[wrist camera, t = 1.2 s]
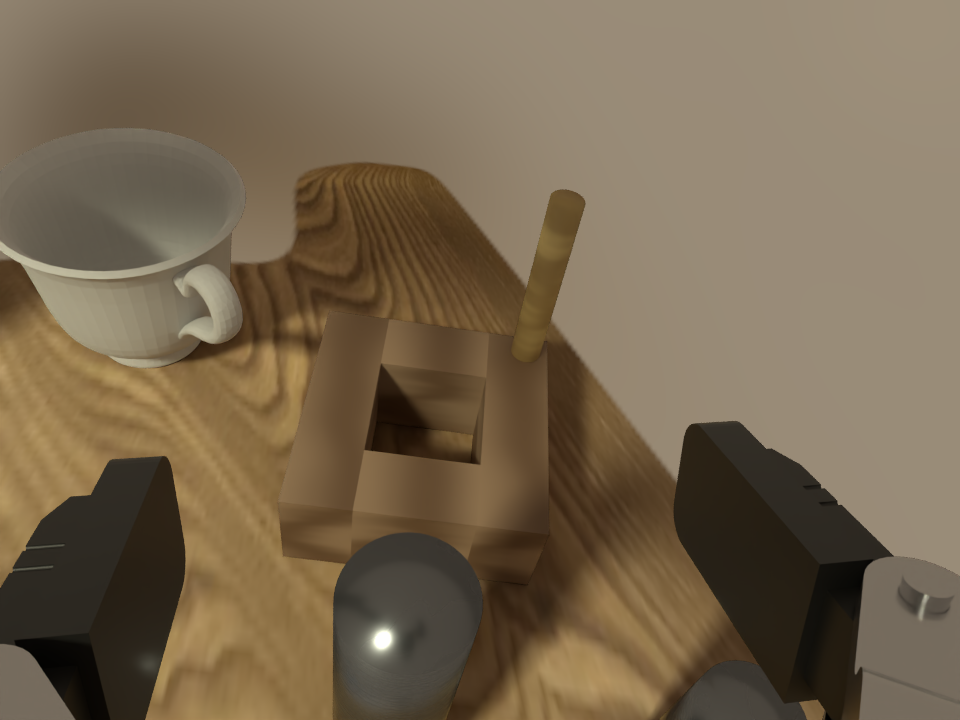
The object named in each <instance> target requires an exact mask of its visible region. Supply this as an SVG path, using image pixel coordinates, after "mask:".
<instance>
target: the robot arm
mask: <svg viewBox="0 0 960 720" xmlns="http://www.w3.org/2000/svg"><path fill="white" fill-rule="evenodd" d="M674 522H675V527H676V531H677V534H678V537H679V539H680V542H681V543H682V545H683V547H684V548H685V550H686V551H687V553H688V555H689V556H690V558H691V559H692V561H693V562H694V564H695V565H696V567H697V569H698V570H699V572H700V573H701V575H702V576H703V578H704V579H705V581H706V583H707V584H708V586H709V587H710V589H711V590H712V592H713V594H714V595H715V597H716V598H717V600H718V601H719V603H720V604H721V606H722V608H723V609H724V611H725V612H726V614H727V615H728V617H729V619H730V620H731V622H732V623H733V625H734V626H735V628H736V629H737V631H738V633H739V634H740V636H741V637H742V639H743V640H744V642H745V644H746V645H747V647H748V648H749V650H750V651H751V653H752V654H753V656H754V658H755V659H756V661H757V662H758V664H759V665H760V667H761V668H762V670H763V672H764V673H765V675H766V676H767V678H768V679H769V681H770V683H771V684H772V686H773V687H774V689H775V690H776V692H777V693H778V695H779V697H780V698H781V700H782V701H783V703H784V704H786V703H794V702H802V701H810V700H817V699H818V700H819V702H820V703H821V705H822V706H823V708H824V709H825V711H824V715H823V718H822V720H960V576H958V575H957V574H955V573H953V572H951V571H949V570H947V569H945V568H943V567H940V566H938V565H936V564H933V563H929V562H927V561H923V560H919V559H915V558H907V557H894V556H893V555H892V554H891V553H890V552H889V551H888V550H887V549H886V548H885V547H884V546H883V545H882V544H881V543H880V542H879V541H878V540H877V539H876V538H875V537H874V536H873V535H872V534H871V533H870V532H869V531H868V530H867V529H866V528H864V526H862V524H860V522H858V521H857V520H856V519H855V518H854V517H853V516H852V515H851V514H850V513H849V512H848V511H847V510H846V509H845V508H844V507H843V506H842V505H838V504H837V500H836V499H835V498H834V497H833V496H832V495H831V494H830V493H829V492H828V491H827V490H826V489H821V484H820V483H819V482H818V481H817V480H816V479H815V478H813V476H812V475H810V473H809V472H808V471H807V470H806V469H804V468H803V467H802V466H801V465H800V464H798V463H797V462H795V461H793V460H791V459H789V458H787V457H786V456H783V455H782V454H780V453H778V452H777V451H775V450H773V449H766V448H765V447H764V446H763V445H762V444H761V443H760V442H759V441H758V440H757V439H756V438H755V437H754V436H753V435H752V434H751V433H750V432H749V431H748V430H747V429H746V428H745V427H744V426H743V425H742V424H741V423H740V422H737V421H728V422H712V423H696V424H691V425H690V426H689V427H688V428H687V430H686V433H685V436H684V441H683V448H682V454H681V461H680V467H679V474H678V480H677V487H676V494H675V500H674ZM184 575H185V545H184V538H183V532H182V526H181V520H180V515H179V509H178V503H177V497H176V491H175V485H174V479H173V474H172V468H171V465H170V462H169V460H168V458H167V457H166V456H159V457H143V458H127V459H112V460H110V461H109V462H108V464H107V465H106V467H105V469H104V471H103V473H102V475H101V477H100V478H99V480H98V482H97V484H96V486H95V488H94V490H93V492H92V494H91V495H88V496H73V497H70V498H68V499H67V500H66V501H65V502H63V503H62V504H61V505H60V506H58V507H57V508H56V509H55V510H53V511H52V512H51V513H50V514H48V515H47V516H46V517H45V518H43V519H42V520H41V521H40V523H39V525H38V526H37V528H36V530H35V531H34V533H33V535H32V536H31V538H30V540H29V541H28V543H27V545H26V551H22V553H21V555H20V556H19V558H18V560H17V561H16V563H15V565H14V566H13V573H9V575H8V576H7V578H6V580H5V581H4V583H3V585H2V586H1V588H0V720H145V718H146V714H147V711H148V707H149V704H150V700H151V697H152V693H153V690H154V686H155V683H156V679H157V676H158V672H159V668H160V665H161V661H162V658H163V654H164V651H165V647H166V644H167V640H168V637H169V633H170V630H171V626H172V623H173V619H174V615H175V612H176V608H177V605H178V601H179V598H180V594H181V591H182V587H183V582H184Z"/></svg>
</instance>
